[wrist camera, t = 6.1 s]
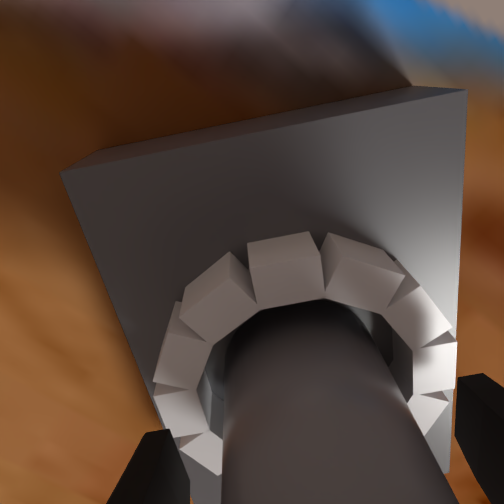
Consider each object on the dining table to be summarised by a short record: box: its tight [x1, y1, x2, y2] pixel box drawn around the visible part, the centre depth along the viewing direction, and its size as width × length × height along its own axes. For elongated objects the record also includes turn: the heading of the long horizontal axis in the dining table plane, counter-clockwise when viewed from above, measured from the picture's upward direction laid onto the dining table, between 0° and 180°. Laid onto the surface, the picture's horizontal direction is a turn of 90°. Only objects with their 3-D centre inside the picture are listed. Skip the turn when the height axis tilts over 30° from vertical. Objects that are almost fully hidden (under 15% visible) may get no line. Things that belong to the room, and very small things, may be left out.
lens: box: [221, 300, 459, 504], centre depth 9 cm, size 5×5×7 cm
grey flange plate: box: [59, 86, 468, 504], centre depth 13 cm, size 10×14×4 cm
